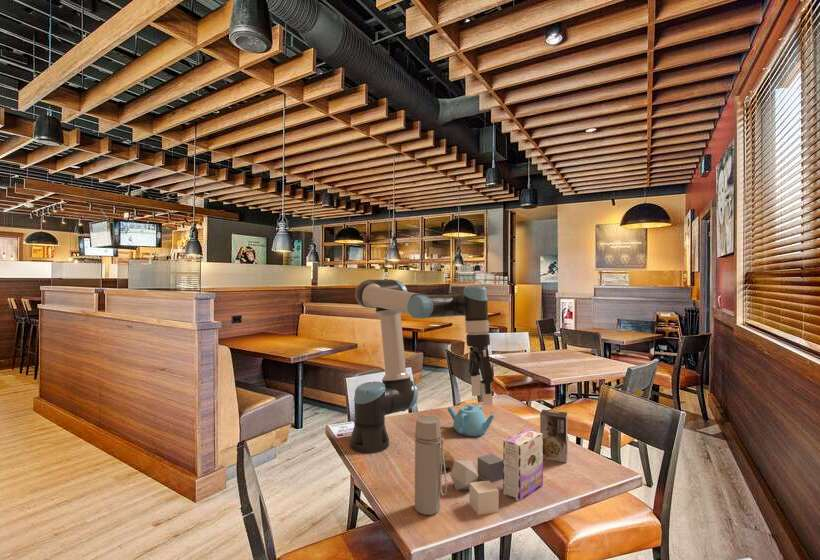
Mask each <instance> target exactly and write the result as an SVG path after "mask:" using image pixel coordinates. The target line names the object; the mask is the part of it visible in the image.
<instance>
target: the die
mask: <svg viewBox="0 0 820 560" xmlns="http://www.w3.org/2000/svg"><path fill="white" fill-rule="evenodd" d="M454 461H455V462H454V465H453V468H452V470H451V471H450V473H449V476H450V478H451V481H452V483H453V485H454V488H455V490H456V491H458V490H460V491H461V490H462V491H464V490H466V491H467V490H468V491H470V483H472V482H478V478H479V475H478V470H476V467H475V465H474V463H473V461H472V460H469V459H468V460H455V459H454Z"/></svg>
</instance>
